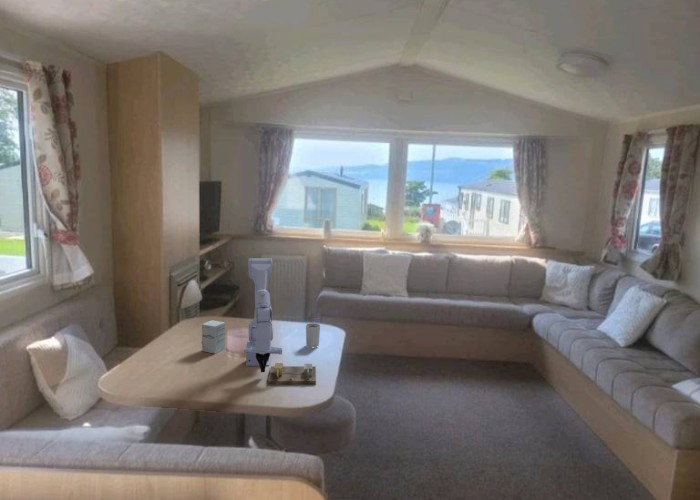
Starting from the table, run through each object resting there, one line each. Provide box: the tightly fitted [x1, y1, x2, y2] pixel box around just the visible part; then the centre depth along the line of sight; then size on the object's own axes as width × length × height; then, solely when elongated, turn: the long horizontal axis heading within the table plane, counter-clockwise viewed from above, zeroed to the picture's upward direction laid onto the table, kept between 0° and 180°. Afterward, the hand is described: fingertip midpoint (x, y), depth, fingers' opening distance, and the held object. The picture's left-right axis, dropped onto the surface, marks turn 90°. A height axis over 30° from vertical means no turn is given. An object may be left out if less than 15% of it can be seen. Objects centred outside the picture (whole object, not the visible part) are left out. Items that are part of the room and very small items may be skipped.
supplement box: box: [201, 319, 226, 355], centre depth 214 cm, size 7×7×13 cm
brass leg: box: [274, 362, 284, 379], centre depth 187 cm, size 3×8×3 cm, turn 5°
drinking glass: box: [305, 322, 321, 349], centre depth 224 cm, size 7×7×10 cm
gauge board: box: [267, 363, 317, 386], centre depth 189 cm, size 18×14×4 cm
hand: (262, 371), depth 188 cm, fingers closed
